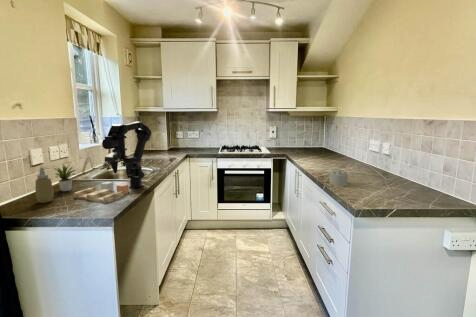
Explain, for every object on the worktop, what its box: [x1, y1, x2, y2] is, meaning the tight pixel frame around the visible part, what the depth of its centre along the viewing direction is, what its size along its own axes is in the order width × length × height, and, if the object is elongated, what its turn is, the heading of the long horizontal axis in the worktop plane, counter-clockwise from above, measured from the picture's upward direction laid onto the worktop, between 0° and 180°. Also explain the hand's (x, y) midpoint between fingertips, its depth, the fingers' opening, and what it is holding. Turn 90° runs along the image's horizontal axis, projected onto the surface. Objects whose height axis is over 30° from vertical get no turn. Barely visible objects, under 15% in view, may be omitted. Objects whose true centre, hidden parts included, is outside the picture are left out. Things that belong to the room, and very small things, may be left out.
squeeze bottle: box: [35, 167, 55, 204], centre depth 143 cm, size 8×8×18 cm
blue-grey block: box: [100, 181, 114, 192], centre depth 164 cm, size 4×4×5 cm
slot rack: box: [74, 186, 125, 204], centre depth 152 cm, size 12×23×3 cm, turn 67°
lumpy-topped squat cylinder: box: [328, 169, 349, 187], centre depth 179 cm, size 10×13×9 cm
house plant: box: [52, 163, 77, 192], centre depth 164 cm, size 14×14×16 cm
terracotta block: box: [116, 183, 130, 195], centre depth 159 cm, size 4×4×5 cm
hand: (121, 174), depth 158 cm, fingers open, 9 cm apart
